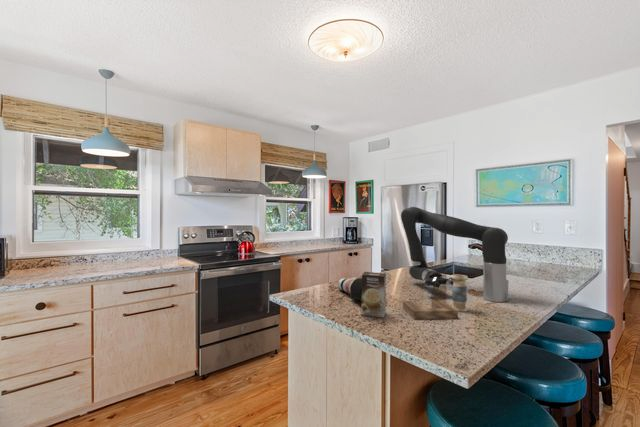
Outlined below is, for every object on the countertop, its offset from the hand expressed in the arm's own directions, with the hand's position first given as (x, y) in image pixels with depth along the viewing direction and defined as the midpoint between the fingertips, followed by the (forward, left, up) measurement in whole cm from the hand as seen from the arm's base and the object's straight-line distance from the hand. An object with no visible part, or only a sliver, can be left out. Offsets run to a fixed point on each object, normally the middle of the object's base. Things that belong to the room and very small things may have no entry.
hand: (447, 285), depth 135 cm
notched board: (+14, +13, -8) cm, 21 cm away
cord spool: (0, +10, -8) cm, 12 cm away
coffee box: (+37, +13, -8) cm, 40 cm away
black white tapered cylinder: (+40, -13, -8) cm, 43 cm away
